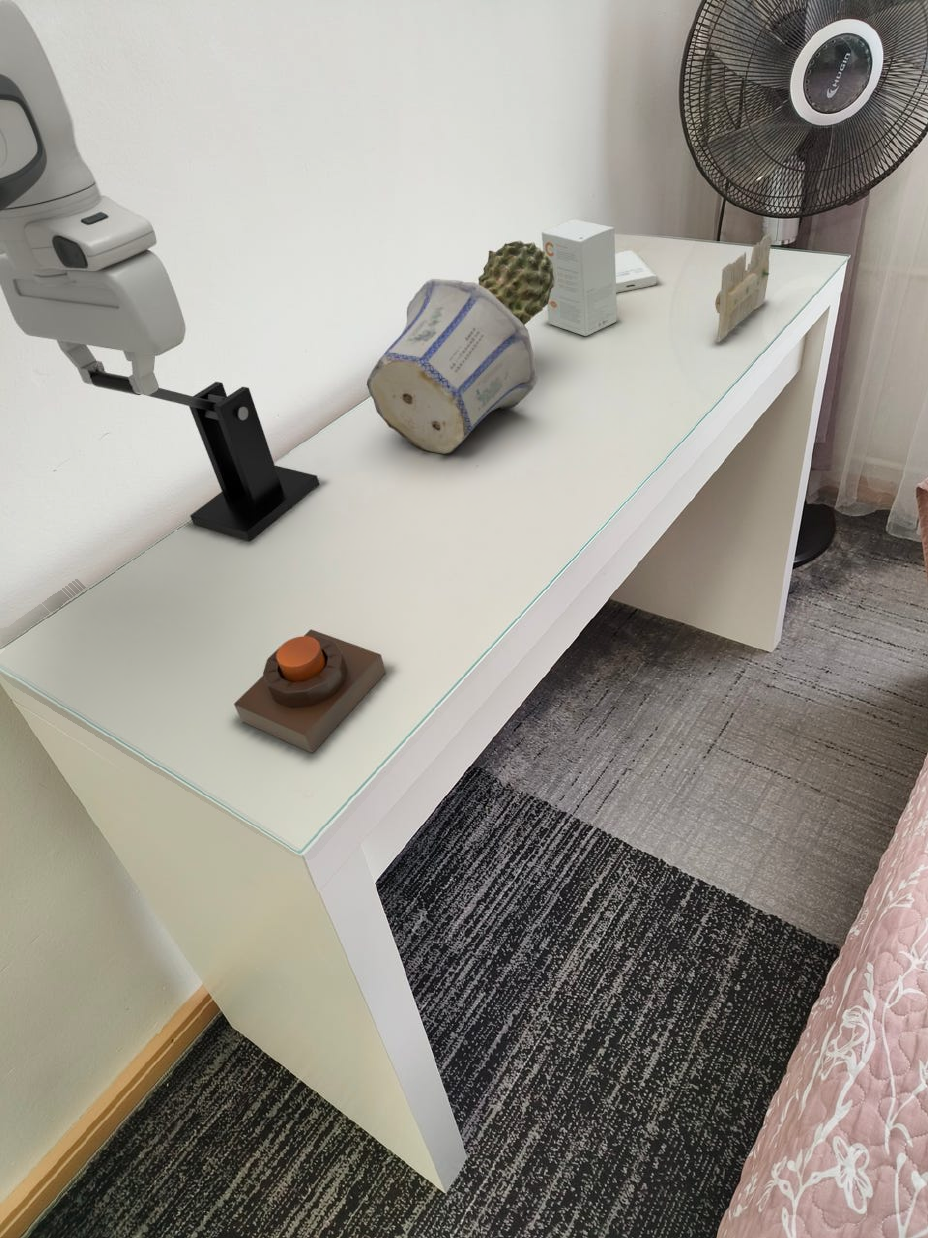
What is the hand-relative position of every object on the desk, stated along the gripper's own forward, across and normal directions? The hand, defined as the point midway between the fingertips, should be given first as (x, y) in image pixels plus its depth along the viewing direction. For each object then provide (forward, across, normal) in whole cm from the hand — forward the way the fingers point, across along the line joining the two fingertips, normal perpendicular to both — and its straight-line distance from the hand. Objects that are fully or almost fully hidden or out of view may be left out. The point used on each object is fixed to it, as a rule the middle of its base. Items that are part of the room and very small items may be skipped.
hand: (122, 387), depth 79 cm
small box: (+18, +14, +65) cm, 69 cm away
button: (+16, +27, -11) cm, 33 cm away
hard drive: (+18, +12, +83) cm, 85 cm away
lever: (+5, 0, +5) cm, 6 cm away
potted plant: (+19, +14, +39) cm, 46 cm away
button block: (+20, +26, -10) cm, 35 cm away
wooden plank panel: (+18, +36, +70) cm, 81 cm away
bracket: (+19, 0, +10) cm, 22 cm away
